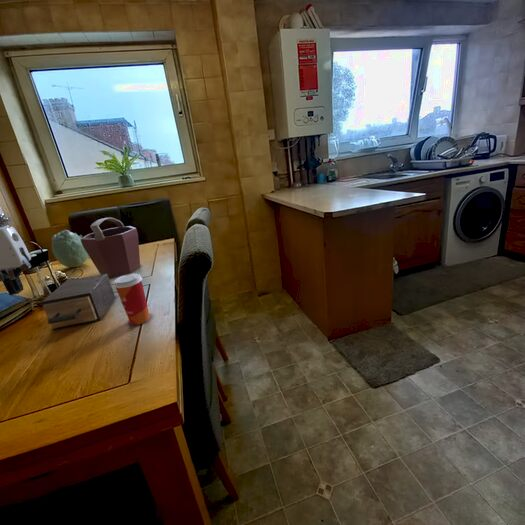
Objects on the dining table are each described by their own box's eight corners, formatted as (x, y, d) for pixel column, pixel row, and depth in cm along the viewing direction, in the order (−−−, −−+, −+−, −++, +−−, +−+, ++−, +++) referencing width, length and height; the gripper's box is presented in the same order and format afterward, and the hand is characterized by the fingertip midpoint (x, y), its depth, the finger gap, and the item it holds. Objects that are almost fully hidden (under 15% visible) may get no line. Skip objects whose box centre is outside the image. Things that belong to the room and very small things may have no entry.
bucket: (122, 280, 118) (104, 223, 110) (80, 281, 124) (59, 227, 115) (154, 260, 141) (141, 211, 132) (117, 262, 146) (102, 214, 137)
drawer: (90, 328, 81) (81, 305, 79) (43, 337, 79) (32, 314, 77) (111, 298, 100) (104, 278, 98) (74, 305, 98) (66, 285, 96)
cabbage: (95, 258, 159) (83, 224, 152) (92, 267, 142) (78, 229, 135) (63, 265, 153) (49, 230, 146) (56, 275, 136) (40, 236, 129)
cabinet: (100, 319, 88) (90, 292, 84) (53, 329, 85) (41, 301, 82) (115, 297, 103) (107, 273, 100) (76, 304, 101) (66, 280, 98)
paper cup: (127, 317, 87) (114, 276, 82) (153, 310, 89) (141, 270, 84) (125, 330, 80) (110, 286, 75) (153, 322, 82) (140, 279, 77)
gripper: (29, 217, 72) (54, 282, 78) (-37, 225, 69) (-6, 291, 76) (11, 223, 65) (40, 293, 71) (-63, 232, 62) (-26, 304, 69)
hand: (16, 292), depth 73 cm, fingers closed
